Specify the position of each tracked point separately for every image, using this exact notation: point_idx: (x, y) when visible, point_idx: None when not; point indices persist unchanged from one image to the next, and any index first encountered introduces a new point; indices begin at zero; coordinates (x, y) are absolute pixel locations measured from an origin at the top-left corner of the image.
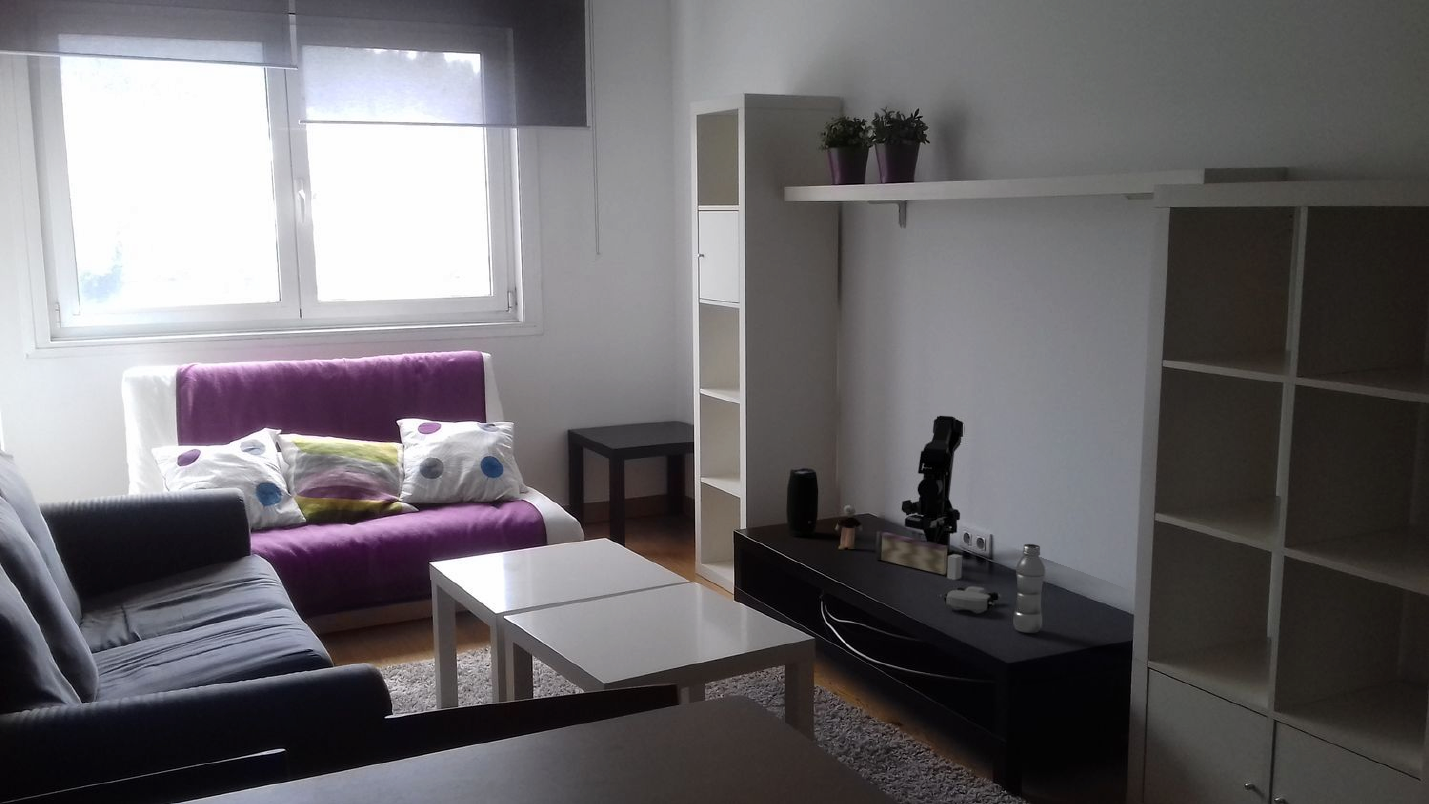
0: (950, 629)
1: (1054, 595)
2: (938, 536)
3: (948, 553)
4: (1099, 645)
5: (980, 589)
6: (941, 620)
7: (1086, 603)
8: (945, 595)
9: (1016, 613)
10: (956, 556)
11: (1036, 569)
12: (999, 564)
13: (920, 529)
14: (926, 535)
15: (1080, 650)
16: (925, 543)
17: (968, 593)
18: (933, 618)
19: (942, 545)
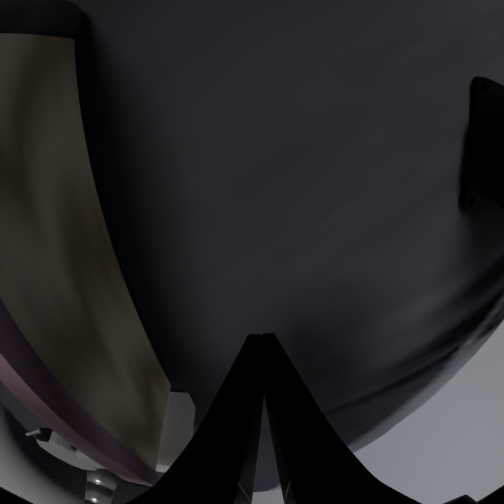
0: (28, 427)
1: (258, 474)
2: (277, 466)
3: (498, 210)
4: (146, 486)
5: (98, 466)
6: (26, 419)
7: (258, 484)
8: (36, 436)
9: (87, 479)
10: (160, 470)
11: None
12: (431, 378)
13: (20, 498)
14: (198, 443)
15: (122, 480)
16: (73, 443)
17: (68, 457)
18: (18, 412)
19: (135, 480)
